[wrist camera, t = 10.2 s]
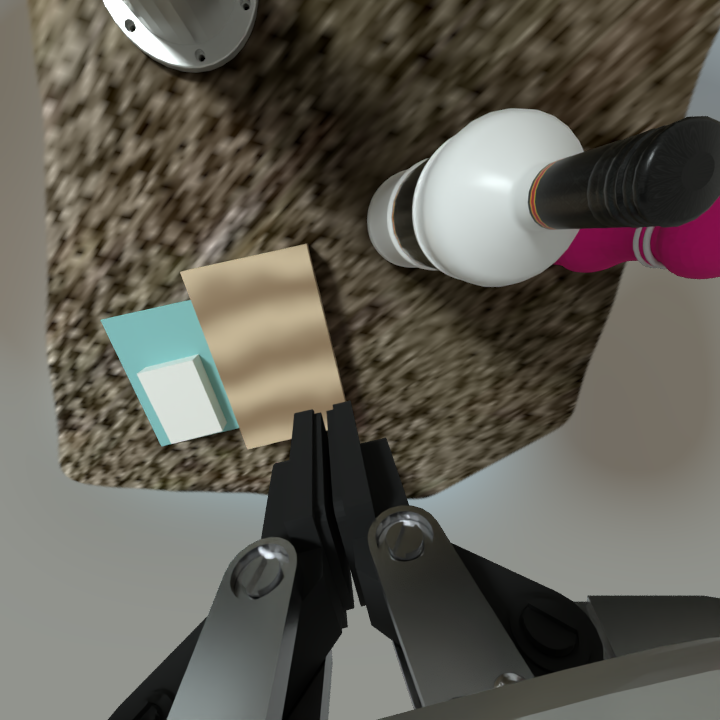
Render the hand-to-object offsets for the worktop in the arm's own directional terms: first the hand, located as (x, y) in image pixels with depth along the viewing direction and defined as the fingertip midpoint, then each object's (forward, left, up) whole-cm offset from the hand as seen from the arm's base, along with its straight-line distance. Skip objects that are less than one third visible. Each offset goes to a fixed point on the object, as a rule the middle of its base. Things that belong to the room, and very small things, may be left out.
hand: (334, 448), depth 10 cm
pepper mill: (0, +28, -30) cm, 41 cm away
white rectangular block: (+8, -18, -28) cm, 34 cm away
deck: (+5, -6, -30) cm, 31 cm away
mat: (+6, -18, -30) cm, 35 cm away
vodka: (-5, +11, -30) cm, 32 cm away
